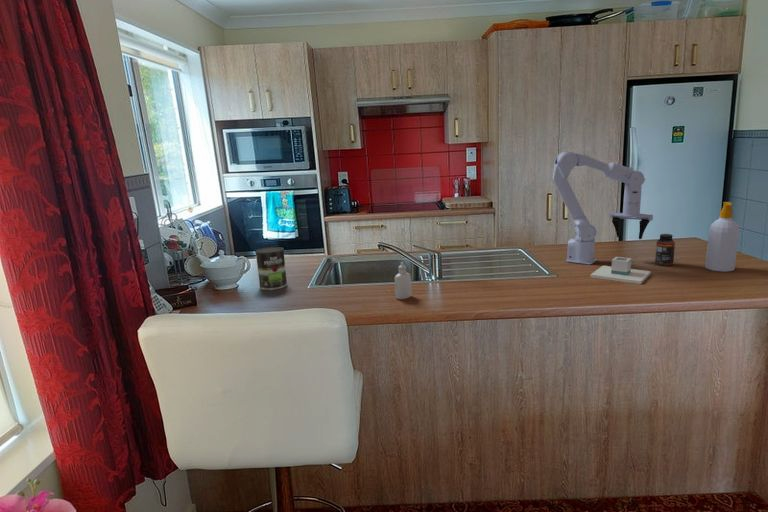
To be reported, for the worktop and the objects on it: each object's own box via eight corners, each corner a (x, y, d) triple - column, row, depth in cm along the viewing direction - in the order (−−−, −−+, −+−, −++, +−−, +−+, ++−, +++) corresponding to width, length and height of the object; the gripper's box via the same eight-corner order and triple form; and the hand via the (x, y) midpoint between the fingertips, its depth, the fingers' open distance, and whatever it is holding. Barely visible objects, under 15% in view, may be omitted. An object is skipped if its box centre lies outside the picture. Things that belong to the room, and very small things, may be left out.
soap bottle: (708, 271, 163) (716, 204, 157) (702, 264, 171) (709, 200, 166) (738, 273, 160) (747, 204, 154) (730, 266, 168) (738, 200, 163)
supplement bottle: (668, 261, 178) (671, 232, 175) (676, 266, 172) (679, 236, 169) (651, 262, 178) (654, 233, 176) (659, 266, 173) (661, 236, 170)
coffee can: (290, 286, 173) (286, 250, 170) (263, 292, 169) (258, 254, 165) (283, 280, 182) (279, 245, 179) (256, 285, 178) (252, 249, 174)
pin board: (590, 277, 164) (591, 264, 163) (602, 268, 175) (603, 256, 174) (640, 284, 154) (641, 271, 153) (650, 274, 164) (651, 261, 163)
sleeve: (611, 273, 164) (612, 259, 163) (615, 270, 168) (616, 256, 167) (626, 275, 161) (627, 261, 160) (630, 272, 164) (631, 258, 163)
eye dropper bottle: (394, 296, 156) (392, 261, 154) (410, 294, 157) (409, 260, 154) (396, 300, 152) (394, 264, 149) (413, 298, 153) (411, 263, 150)
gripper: (608, 203, 178) (606, 237, 181) (650, 204, 168) (647, 241, 172) (613, 200, 183) (611, 234, 186) (655, 202, 174) (652, 237, 177)
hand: (629, 237), depth 179 cm, fingers open, 7 cm apart
